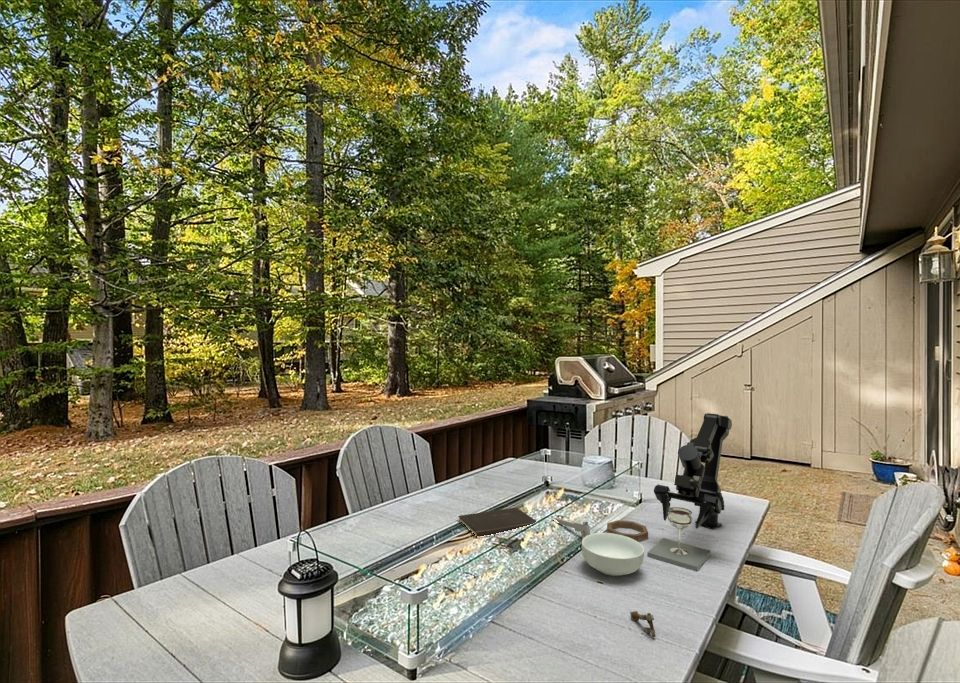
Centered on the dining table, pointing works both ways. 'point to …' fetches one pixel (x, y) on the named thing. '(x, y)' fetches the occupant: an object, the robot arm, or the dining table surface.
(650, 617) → the wooden post with brackets
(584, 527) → the caliper
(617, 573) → the cereal bowl
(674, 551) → the wineglass
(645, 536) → the ring holder
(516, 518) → the hardcover book
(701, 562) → the slate board
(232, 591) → the dining table surface
